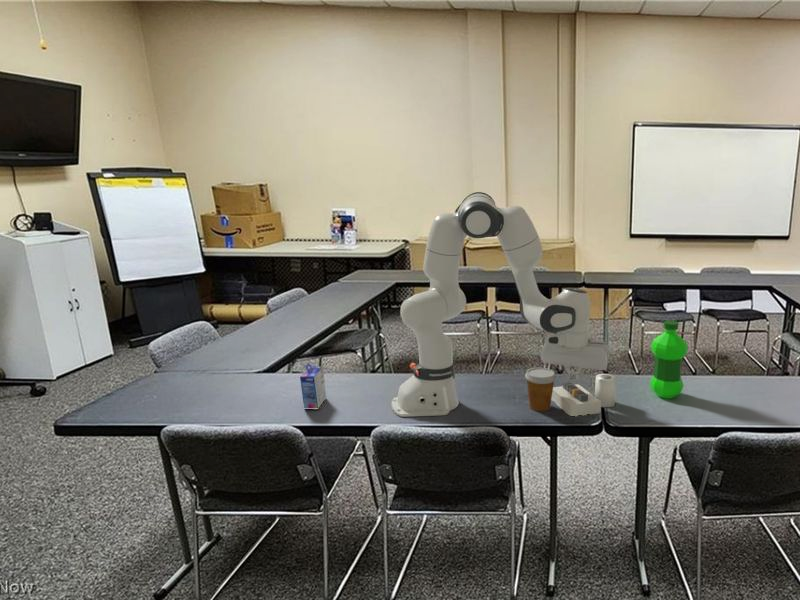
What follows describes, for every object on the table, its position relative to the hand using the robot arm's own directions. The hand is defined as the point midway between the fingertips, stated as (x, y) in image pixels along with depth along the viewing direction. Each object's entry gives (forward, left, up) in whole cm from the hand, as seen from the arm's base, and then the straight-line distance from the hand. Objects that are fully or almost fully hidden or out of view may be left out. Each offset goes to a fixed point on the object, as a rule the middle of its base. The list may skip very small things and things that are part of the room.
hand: (573, 378), depth 168 cm
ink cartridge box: (-83, +22, -8) cm, 87 cm away
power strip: (-1, +1, -8) cm, 8 cm away
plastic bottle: (+31, -4, -8) cm, 32 cm away
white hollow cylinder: (+9, -4, -8) cm, 13 cm away
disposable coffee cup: (-12, -1, -8) cm, 15 cm away
